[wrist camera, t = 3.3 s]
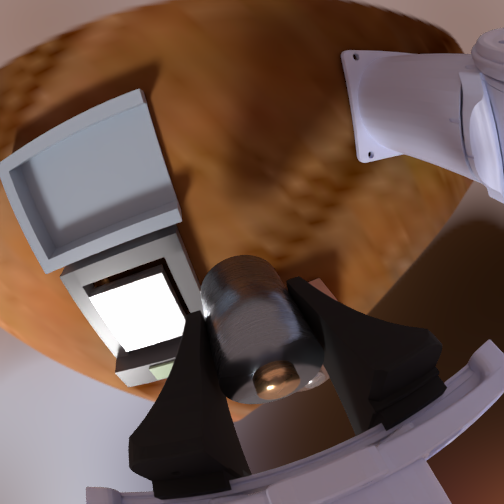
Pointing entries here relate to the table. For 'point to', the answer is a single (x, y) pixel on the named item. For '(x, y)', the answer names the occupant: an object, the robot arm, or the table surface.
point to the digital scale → (121, 259)
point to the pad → (141, 308)
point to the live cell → (257, 332)
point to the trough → (91, 183)
